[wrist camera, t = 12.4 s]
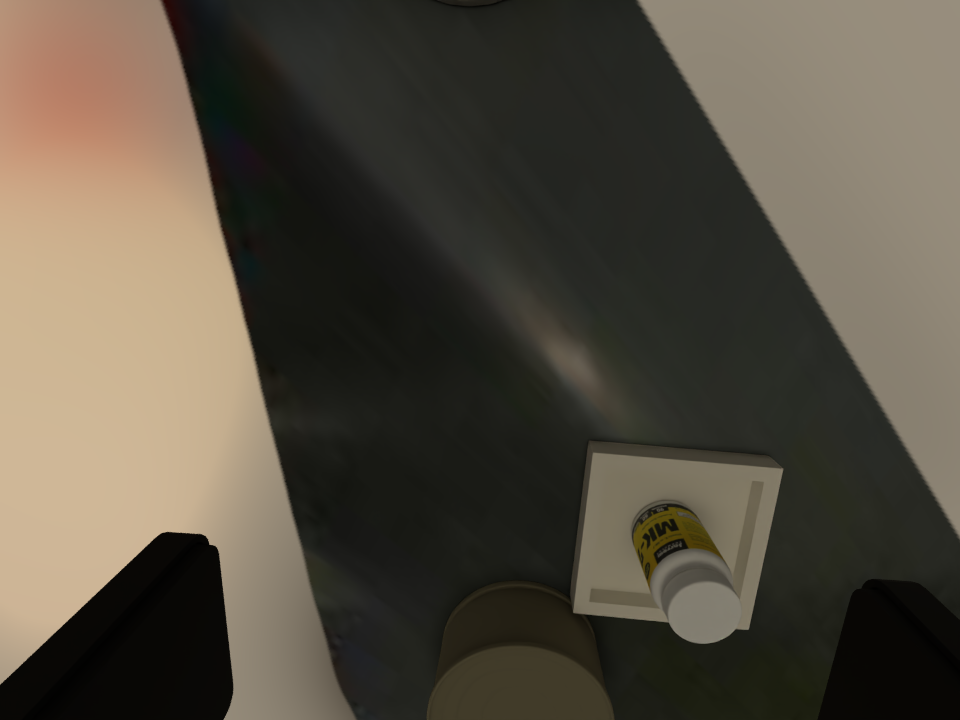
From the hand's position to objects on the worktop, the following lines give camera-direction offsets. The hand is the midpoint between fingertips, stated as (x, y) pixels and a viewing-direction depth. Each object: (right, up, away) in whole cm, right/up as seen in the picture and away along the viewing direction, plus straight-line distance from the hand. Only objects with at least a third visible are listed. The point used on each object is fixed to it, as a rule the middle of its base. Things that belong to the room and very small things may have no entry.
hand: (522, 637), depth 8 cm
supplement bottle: (+12, -8, +30) cm, 33 cm away
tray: (+12, -8, +30) cm, 34 cm away
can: (+2, -18, +34) cm, 38 cm away
